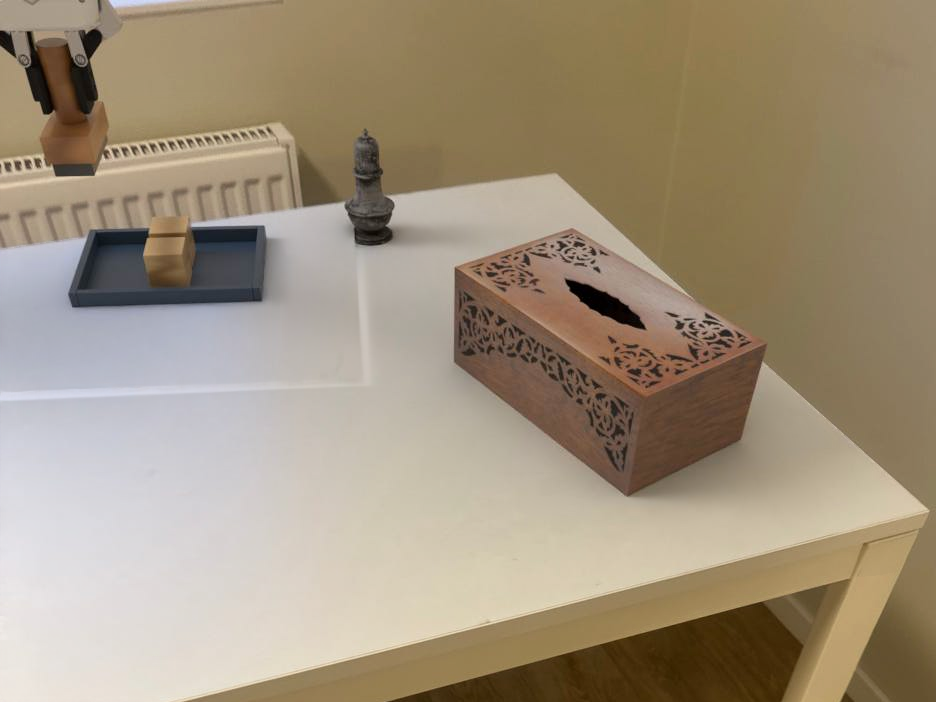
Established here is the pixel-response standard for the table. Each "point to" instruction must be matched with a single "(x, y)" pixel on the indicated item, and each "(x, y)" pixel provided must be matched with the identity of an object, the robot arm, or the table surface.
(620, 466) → the tissue box cover
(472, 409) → the table surface
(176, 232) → the block
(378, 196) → the salt shaker
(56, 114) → the brush
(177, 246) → the block
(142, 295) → the tray
